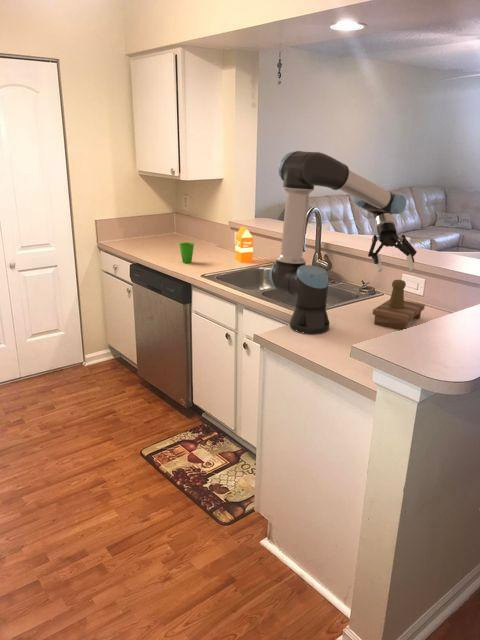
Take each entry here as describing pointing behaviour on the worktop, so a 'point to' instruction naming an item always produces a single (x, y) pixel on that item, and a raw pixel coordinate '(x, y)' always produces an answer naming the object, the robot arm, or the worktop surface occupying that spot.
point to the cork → (397, 294)
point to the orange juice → (244, 245)
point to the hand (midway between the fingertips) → (396, 270)
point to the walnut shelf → (397, 314)
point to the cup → (186, 251)
